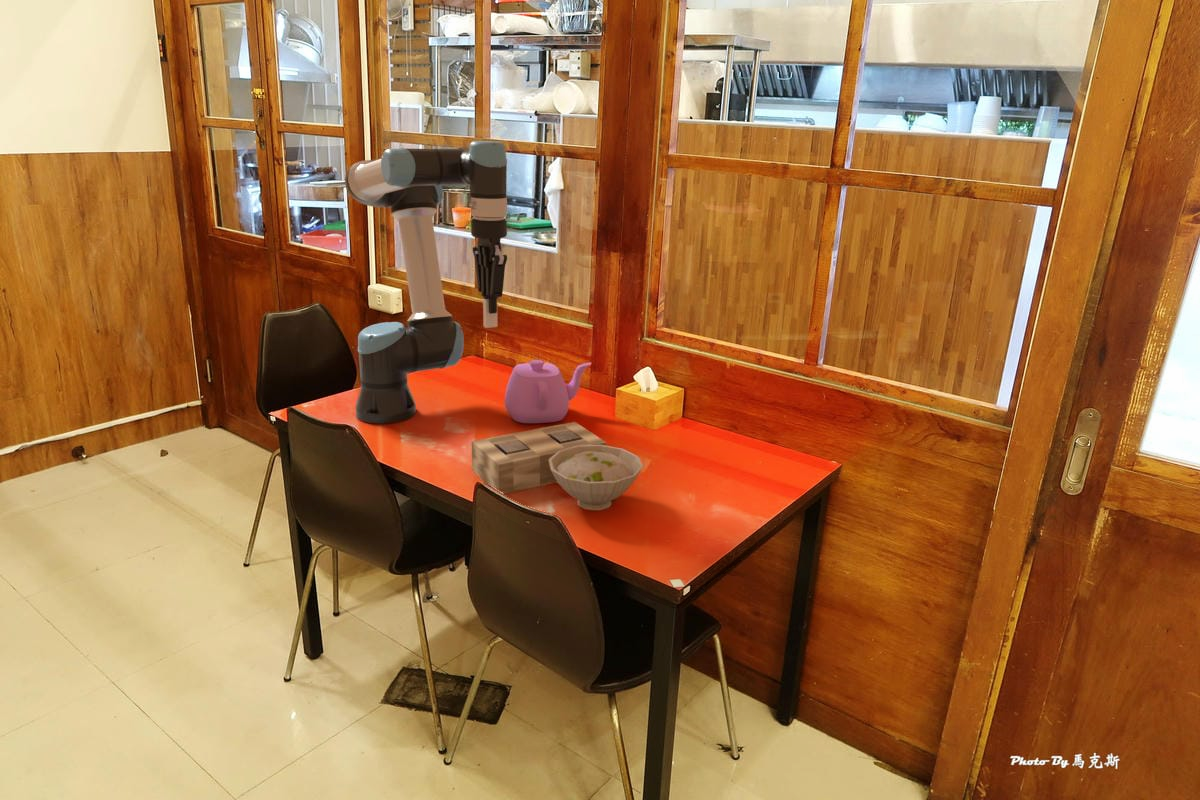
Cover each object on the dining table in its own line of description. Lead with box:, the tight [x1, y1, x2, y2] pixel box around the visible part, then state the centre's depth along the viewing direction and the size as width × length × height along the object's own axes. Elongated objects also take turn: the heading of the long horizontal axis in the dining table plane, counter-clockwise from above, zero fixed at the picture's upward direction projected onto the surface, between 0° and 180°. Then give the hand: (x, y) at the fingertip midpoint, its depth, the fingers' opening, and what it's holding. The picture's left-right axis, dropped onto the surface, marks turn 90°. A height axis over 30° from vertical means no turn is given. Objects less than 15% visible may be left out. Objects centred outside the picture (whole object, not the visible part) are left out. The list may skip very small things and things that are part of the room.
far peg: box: [550, 430, 580, 444], centre depth 179 cm, size 5×5×6 cm
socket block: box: [471, 421, 607, 495], centre depth 176 cm, size 14×26×7 cm, turn 121°
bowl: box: [548, 445, 644, 511], centre depth 162 cm, size 19×19×10 cm
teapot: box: [504, 359, 592, 424], centre depth 206 cm, size 23×21×15 cm
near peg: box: [497, 440, 528, 455], centre depth 173 cm, size 5×5×6 cm
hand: (490, 326), depth 176 cm, fingers closed
